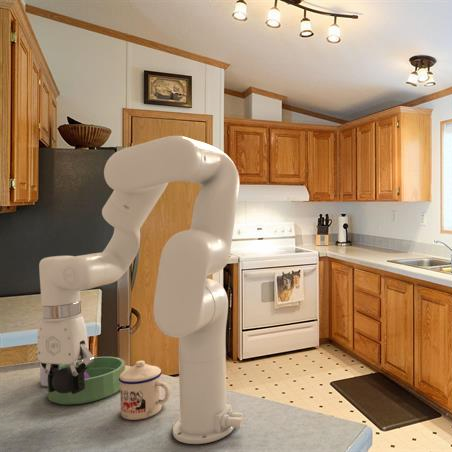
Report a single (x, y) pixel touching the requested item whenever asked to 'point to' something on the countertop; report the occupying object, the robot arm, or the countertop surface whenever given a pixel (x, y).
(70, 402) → the green bowl
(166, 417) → the countertop surface
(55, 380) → the charcoal ball
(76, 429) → the countertop surface
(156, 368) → the teacup with lid
